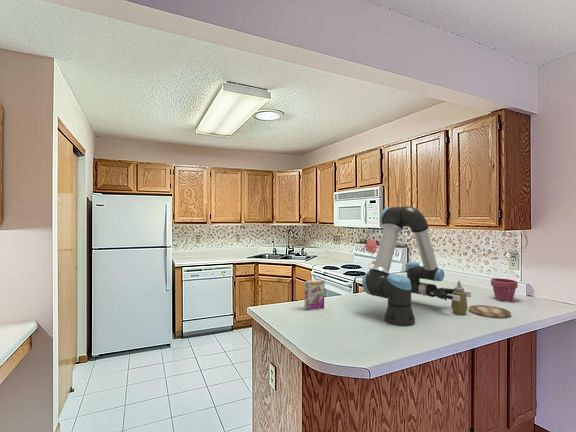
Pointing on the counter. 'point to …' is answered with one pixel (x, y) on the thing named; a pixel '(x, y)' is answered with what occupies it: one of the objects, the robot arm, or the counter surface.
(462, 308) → the squeeze bottle
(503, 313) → the walnut board
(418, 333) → the counter surface
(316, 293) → the candy bar box
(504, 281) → the plant pot
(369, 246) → the figurine
